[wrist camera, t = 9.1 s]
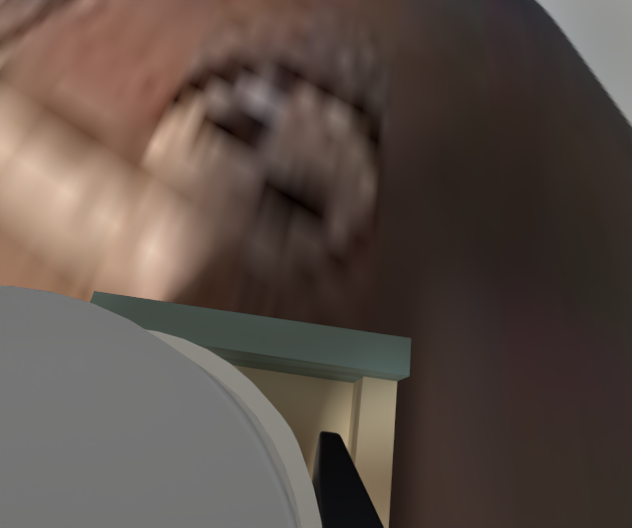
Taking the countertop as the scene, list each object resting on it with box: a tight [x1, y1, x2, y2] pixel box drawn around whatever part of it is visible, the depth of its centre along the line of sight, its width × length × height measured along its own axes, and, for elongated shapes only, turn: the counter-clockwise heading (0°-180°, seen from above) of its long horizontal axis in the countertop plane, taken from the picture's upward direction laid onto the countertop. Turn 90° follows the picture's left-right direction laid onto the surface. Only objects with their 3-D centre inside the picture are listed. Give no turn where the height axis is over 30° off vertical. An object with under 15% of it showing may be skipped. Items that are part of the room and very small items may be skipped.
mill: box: [0, 286, 322, 528], centre depth 8 cm, size 5×5×13 cm
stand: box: [90, 291, 411, 528], centre depth 13 cm, size 11×10×5 cm
